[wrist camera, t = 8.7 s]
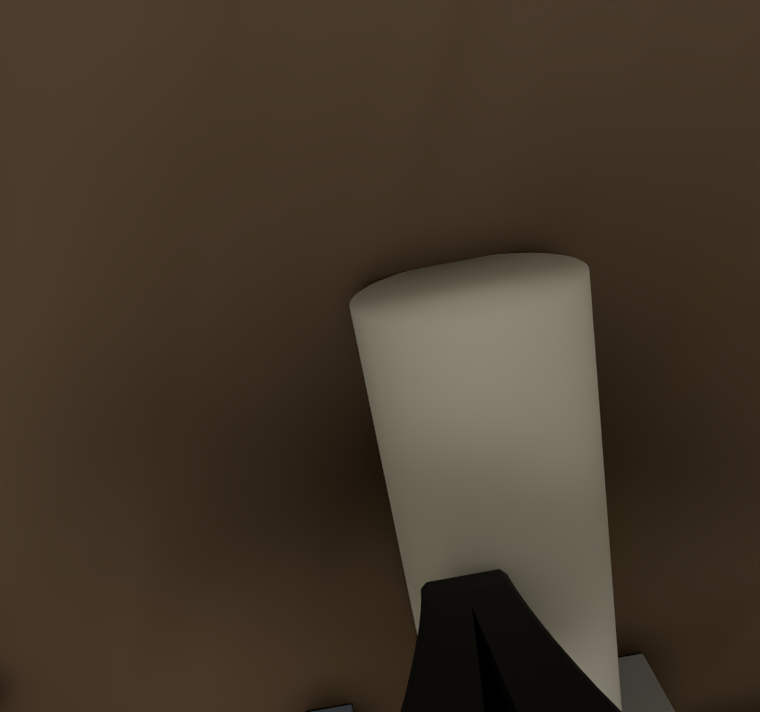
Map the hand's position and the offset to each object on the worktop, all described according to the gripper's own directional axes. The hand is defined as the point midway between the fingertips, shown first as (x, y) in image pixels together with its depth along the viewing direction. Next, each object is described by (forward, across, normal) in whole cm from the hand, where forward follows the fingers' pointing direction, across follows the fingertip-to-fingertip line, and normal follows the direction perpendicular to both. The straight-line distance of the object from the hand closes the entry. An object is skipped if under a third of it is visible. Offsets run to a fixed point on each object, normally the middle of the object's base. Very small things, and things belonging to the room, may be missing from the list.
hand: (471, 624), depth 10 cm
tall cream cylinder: (+4, 0, +1) cm, 4 cm away
